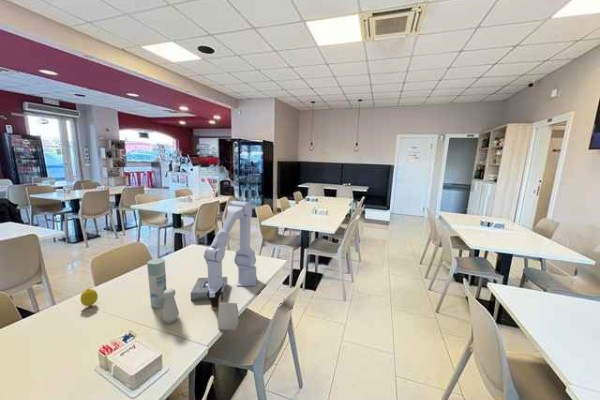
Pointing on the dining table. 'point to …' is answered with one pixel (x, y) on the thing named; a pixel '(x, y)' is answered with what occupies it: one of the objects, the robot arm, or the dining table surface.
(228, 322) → the white printed box
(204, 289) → the steel block
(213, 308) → the oak peg
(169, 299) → the salt shaker
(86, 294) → the lemon
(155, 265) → the spray paint can
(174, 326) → the dining table surface
